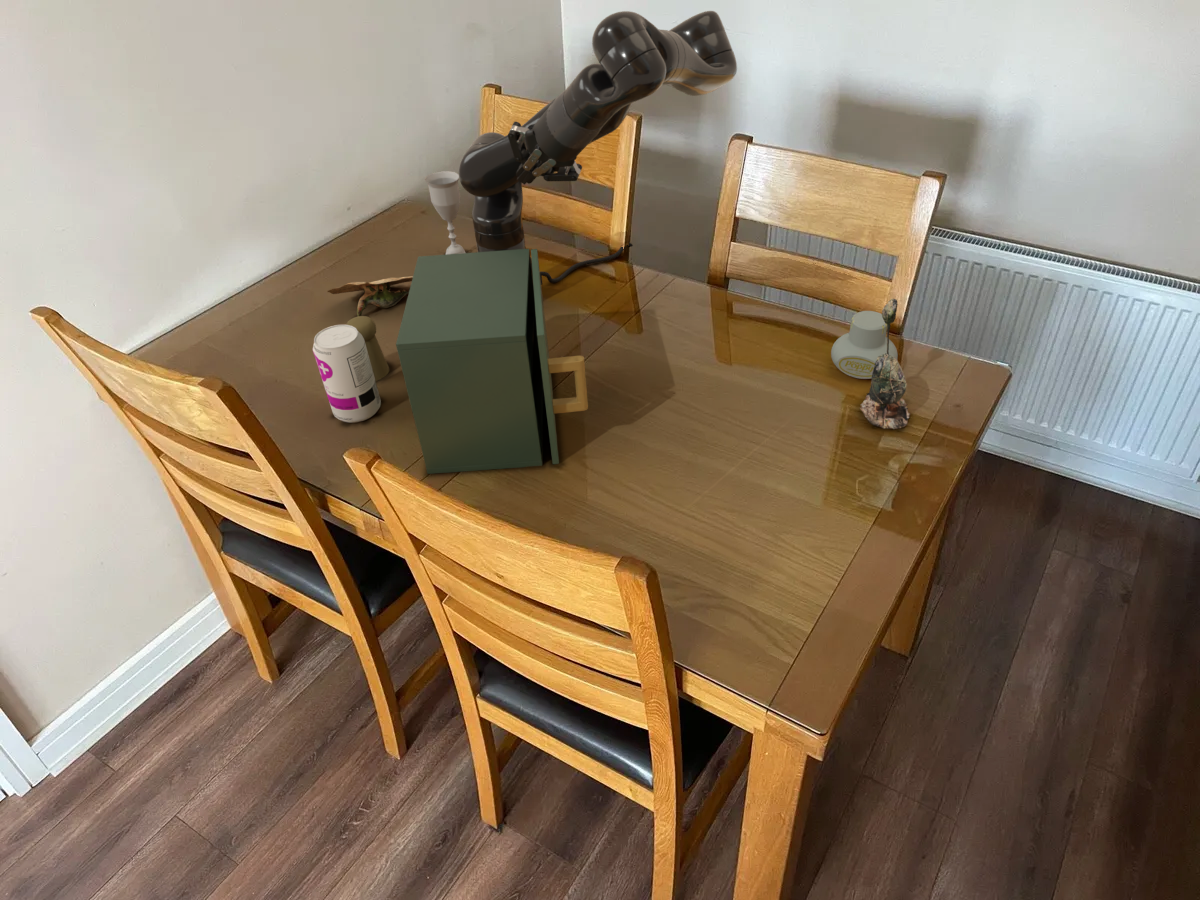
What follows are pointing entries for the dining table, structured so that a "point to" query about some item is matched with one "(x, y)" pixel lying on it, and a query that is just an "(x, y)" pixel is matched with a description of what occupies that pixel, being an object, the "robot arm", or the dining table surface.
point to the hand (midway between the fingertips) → (522, 177)
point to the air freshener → (862, 345)
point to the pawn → (371, 345)
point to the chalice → (446, 202)
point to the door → (555, 367)
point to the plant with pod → (887, 385)
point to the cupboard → (474, 361)
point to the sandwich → (375, 292)
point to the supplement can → (346, 373)
